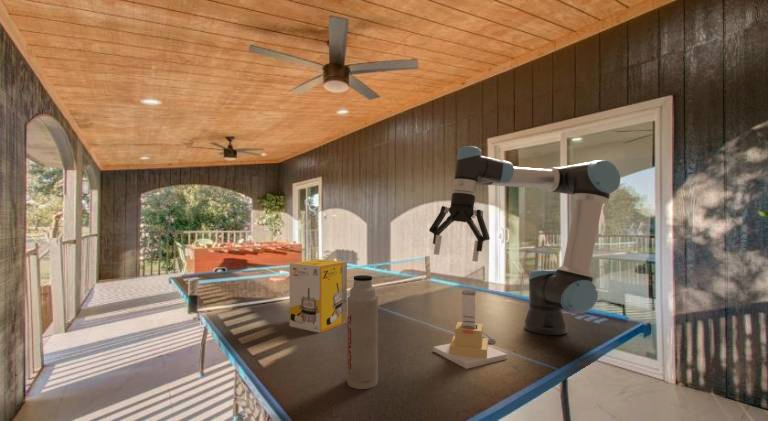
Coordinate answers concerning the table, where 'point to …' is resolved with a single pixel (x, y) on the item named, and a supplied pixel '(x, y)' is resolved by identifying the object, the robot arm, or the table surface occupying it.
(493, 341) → the adjustable wrench
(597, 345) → the table surface
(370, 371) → the thermos bottle
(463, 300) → the column
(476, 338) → the stand
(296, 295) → the packaging box
